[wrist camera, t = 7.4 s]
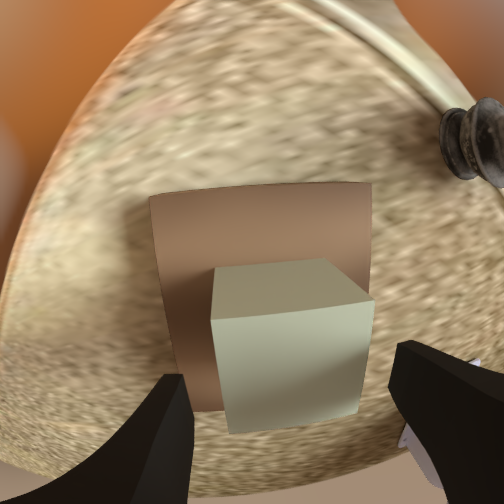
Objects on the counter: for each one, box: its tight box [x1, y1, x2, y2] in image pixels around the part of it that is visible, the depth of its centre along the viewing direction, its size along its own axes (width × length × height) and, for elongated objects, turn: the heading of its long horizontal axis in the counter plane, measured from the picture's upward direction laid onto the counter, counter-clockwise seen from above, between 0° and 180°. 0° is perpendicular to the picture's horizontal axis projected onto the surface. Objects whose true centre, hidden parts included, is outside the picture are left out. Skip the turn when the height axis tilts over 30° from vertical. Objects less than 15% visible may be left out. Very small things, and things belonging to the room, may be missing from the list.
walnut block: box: [149, 182, 372, 412], centre depth 15 cm, size 12×10×3 cm
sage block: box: [211, 258, 375, 434], centre depth 11 cm, size 5×5×5 cm
